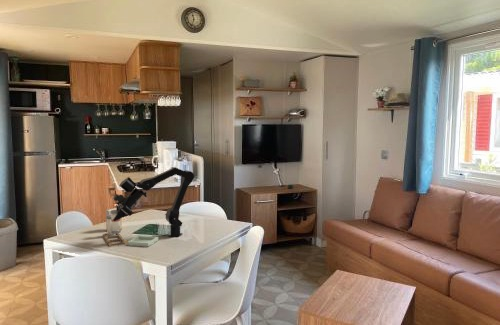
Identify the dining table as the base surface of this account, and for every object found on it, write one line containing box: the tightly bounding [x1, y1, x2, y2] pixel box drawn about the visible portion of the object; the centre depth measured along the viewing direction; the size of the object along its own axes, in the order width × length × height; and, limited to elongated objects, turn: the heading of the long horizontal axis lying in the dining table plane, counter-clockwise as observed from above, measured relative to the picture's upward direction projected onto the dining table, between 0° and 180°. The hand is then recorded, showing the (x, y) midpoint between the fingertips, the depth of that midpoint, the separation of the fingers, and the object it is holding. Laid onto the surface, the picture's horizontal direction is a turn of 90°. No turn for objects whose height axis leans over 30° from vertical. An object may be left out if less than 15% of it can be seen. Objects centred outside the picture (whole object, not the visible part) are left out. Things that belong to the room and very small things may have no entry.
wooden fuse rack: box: [102, 233, 129, 247], centre depth 217 cm, size 24×11×1 cm, turn 29°
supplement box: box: [105, 207, 123, 230], centre depth 237 cm, size 8×5×13 cm, turn 135°
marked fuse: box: [111, 210, 122, 234], centre depth 208 cm, size 5×5×12 cm
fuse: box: [106, 215, 117, 237], centre depth 223 cm, size 5×5×12 cm
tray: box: [127, 235, 159, 248], centre depth 210 cm, size 12×12×2 cm
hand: (112, 219), depth 208 cm, fingers closed on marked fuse, 4 cm apart
